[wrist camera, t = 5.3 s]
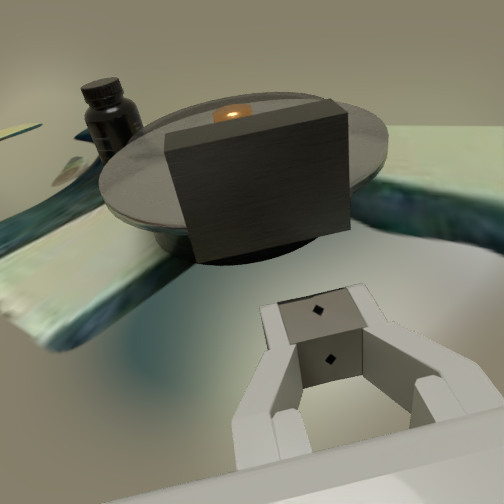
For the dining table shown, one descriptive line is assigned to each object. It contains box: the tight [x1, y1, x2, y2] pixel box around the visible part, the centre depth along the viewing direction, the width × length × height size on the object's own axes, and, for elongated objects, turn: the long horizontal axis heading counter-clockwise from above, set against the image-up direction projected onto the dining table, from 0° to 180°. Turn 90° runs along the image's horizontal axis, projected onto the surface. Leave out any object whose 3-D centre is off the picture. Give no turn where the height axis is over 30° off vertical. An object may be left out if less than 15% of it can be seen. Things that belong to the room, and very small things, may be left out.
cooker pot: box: [126, 92, 326, 266], centre depth 41 cm, size 20×20×9 cm
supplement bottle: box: [81, 77, 144, 166], centre depth 54 cm, size 7×7×12 cm
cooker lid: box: [99, 99, 389, 264], centre depth 28 cm, size 23×21×6 cm
